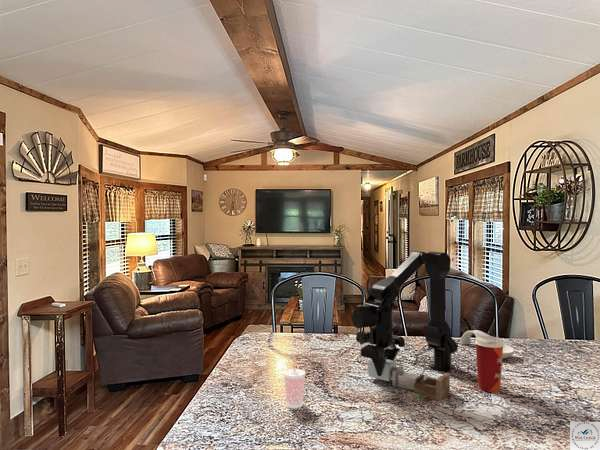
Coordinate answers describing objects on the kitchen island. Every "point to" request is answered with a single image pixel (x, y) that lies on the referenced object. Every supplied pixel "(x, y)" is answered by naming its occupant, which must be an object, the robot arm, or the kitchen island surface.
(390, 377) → the block with dome knob
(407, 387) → the metal-capped square post
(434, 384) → the housing
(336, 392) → the kitchen island surface
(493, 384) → the coffee cup
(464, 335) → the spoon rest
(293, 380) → the beverage cup
